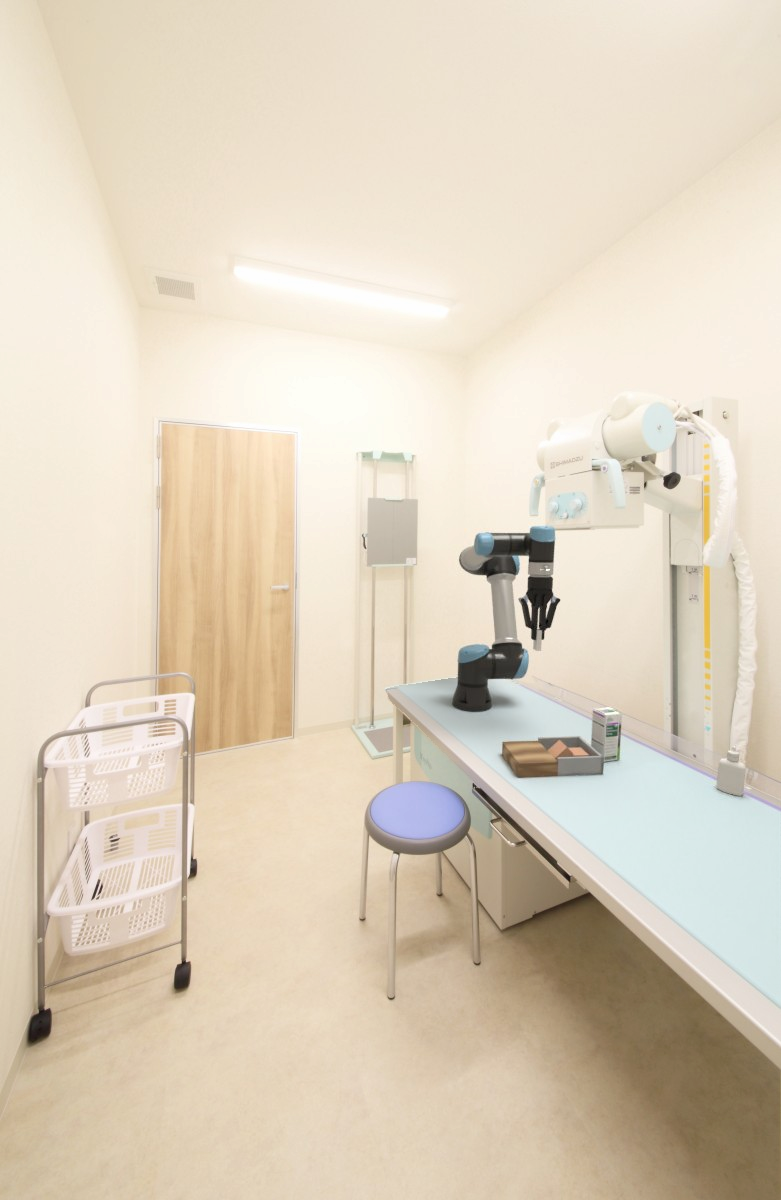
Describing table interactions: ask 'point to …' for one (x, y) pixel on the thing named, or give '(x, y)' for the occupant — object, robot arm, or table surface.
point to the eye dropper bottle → (731, 774)
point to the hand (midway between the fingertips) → (537, 649)
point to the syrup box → (606, 732)
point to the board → (529, 759)
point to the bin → (576, 764)
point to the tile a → (560, 750)
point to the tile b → (578, 752)
